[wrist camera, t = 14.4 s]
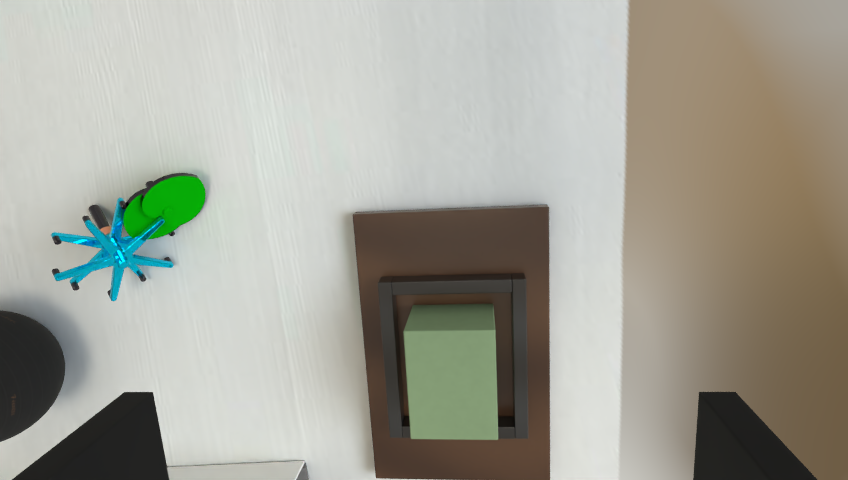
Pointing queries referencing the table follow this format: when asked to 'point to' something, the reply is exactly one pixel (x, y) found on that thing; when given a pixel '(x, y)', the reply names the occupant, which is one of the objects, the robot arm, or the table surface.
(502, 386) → the back board
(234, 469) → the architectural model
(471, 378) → the green rectangular block
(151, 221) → the stick construction toy
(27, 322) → the speaker
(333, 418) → the table surface
